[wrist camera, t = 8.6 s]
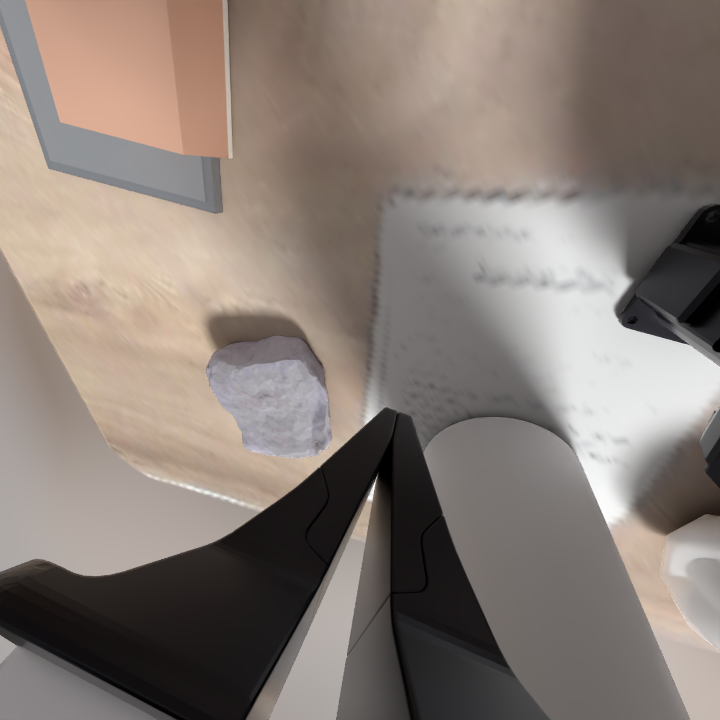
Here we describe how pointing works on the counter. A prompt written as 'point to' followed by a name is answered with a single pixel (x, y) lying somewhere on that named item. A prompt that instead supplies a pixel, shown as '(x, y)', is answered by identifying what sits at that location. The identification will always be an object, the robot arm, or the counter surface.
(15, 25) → the slate board
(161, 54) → the salmon orange block
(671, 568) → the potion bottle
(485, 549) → the cylinder vase
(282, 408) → the stone block
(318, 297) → the counter surface
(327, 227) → the counter surface
